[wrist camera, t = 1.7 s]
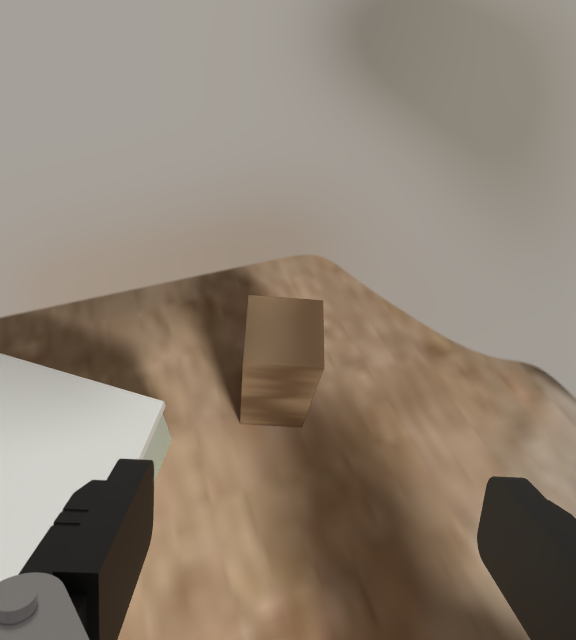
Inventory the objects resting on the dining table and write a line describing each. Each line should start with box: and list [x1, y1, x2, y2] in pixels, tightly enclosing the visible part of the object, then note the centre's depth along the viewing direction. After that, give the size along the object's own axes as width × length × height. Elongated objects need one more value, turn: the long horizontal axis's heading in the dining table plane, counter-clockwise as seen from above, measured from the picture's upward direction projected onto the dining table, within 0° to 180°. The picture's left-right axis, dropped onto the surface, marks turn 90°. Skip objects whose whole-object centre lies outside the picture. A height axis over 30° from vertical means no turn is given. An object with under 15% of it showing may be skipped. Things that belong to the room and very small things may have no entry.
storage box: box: [0, 353, 172, 581], centre depth 28 cm, size 11×11×7 cm
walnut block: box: [240, 295, 324, 427], centre depth 32 cm, size 4×4×10 cm
